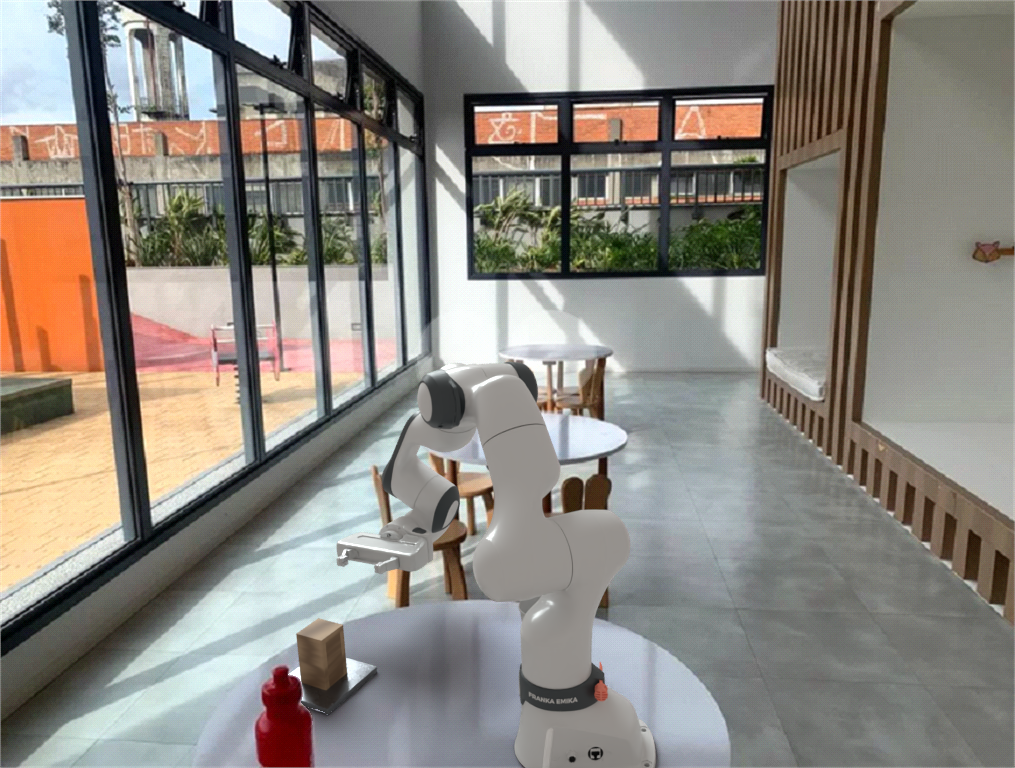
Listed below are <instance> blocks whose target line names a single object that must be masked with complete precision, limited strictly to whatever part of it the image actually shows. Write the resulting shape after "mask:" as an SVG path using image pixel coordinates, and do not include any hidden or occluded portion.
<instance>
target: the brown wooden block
mask: <svg viewBox="0 0 1015 768" xmlns="http://www.w3.org/2000/svg"><path fill="white" fill-rule="evenodd" d="M295 636H296V645H297V656H298V665H299V666H300V676H301V683H304V684H307V685H311V686H314V687H317V688H320V689H323V690H327V689H328V688H330V687H331V686H332V685H333V684H334V683H336V682H337V681H338V680H339V679H340V678H342V677H343V676H344V675H345V674H346V673H347V664H346V658H347V655H346V644H345V643H346V642H345V632H344V624H342V623H338V622H334V621H330V620H327V619H322V618H317V619H315V620H313V621H312V622H311V623H309V624H308V625H306V626H305V627H304V628H302V629H300V630H299V631H298V632H296V634H295ZM299 666H298V667H299Z"/></svg>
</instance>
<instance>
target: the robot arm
mask: <svg viewBox="0 0 1015 768" xmlns="http://www.w3.org/2000/svg"><path fill="white" fill-rule="evenodd" d="M416 397H417V398H416V399H417V407H418V410H416V411H415V412H413V413H412V415H410V416H409V418H408V419H407V421H406V422H405V424H404V426H403V427H402V429H401V432H400V434H399V436H398V438H397V439H398V440H397V441H396V444H395V447H394V450H393V453H392V454H391V457H390V459H389V460H388V462H387V463H386V465H385V467H384V468H383V471H382V473H381V482H382V483H381V484H382V488H383V490H384V492H386V493H388V494H389V495H391V496H392V497H394V498H395V499H398V500H399V501H400V502H401V503H404V504H405V505H406V506H407V507H409V508H410V509H411V510H409V511H408V512H406V513H405V514H404V515H402V516H399V517H398V518H395V519H393V520H392V521H391V522H388V523H386V524H385V525H384V526H382V527H381V529H379V532H378V534H377V533H371V532H366V531H359V532H356V533H352V534H350V535H348V536H346V537H343V538H340V539H339V540H337V542H336V555H337V558H336V566H338V567H343V568H344V567H346V566H348V565H349V561H352V562H357V563H362V564H368V565H373V566H374V567H373V569H374V573H375V574H378V575H383V574H384V573H386V572H390V571H391V572H392V571H395V570H401V571H405V572H416V571H419V570H421V569H422V568H423V567H425V566H426V565H427V564H429V563H431V562H432V561H433V560H434V542H437V540H438V539H440V537H442V536H443V535H444V534H445V532H447V530H448V529H449V528H450V525H451V524H452V522H453V521H454V520H455V518H456V516H457V515H458V512H459V509H460V505H461V497H460V491H459V488H458V486H457V485H455V484H454V483H452V482H451V481H450V480H449V479H447V478H446V477H445V476H443V475H441V474H439V473H438V472H437V471H435V470H434V469H432V468H431V467H429V466H428V465H427V464H426V463H424V462H423V461H422V460H421V459H420V458H419V457H418V455H417V454H418V452H419V450H420V447H425V448H426V449H430V450H433V451H435V452H441V453H450V452H454V451H459V450H461V449H462V448H464V447H465V446H467V445H468V444H469V443H470V442H471V441H472V439H473V438H474V436H475V433H476V431H477V434H478V439H479V442H480V445H481V448H482V450H483V455H484V457H485V461H486V465H487V468H488V473H489V476H490V479H491V483H492V490H493V495H494V503H493V512H492V518H491V520H490V523H489V525H488V528H487V530H486V531H485V533H484V535H482V538H481V539H480V540H479V541H478V543H477V545H476V547H475V549H474V553H473V556H472V557H473V558H472V571H473V576H474V579H475V581H476V584H477V585H478V587H479V589H480V591H481V592H482V593H483V594H484V595H485V596H486V597H488V598H489V599H490V600H492V601H494V602H495V603H508V602H509V603H510V602H511V603H512V602H520V601H525V600H529V599H532V598H536V597H539V596H541V597H540V599H539V600H538V601H537V602H536V603H535V604H534V605H533V606H532V607H531V608H530V609H529V610H528V612H527V613H526V614H525V616H524V618H523V621H522V620H521V626H520V657H521V658H520V659H521V663H520V665H519V671H518V696H519V699H520V700H519V701H520V704H521V710H520V719H519V723H518V730H517V734H516V737H515V740H514V753H515V756H516V758H517V760H518V761H519V763H520V764H521V765H522V766H523V767H524V768H656V763H657V756H656V755H657V754H656V753H657V751H656V745H655V740H654V737H653V733H652V731H651V729H650V728H649V726H648V725H647V724H646V722H644V721H643V720H642V719H640V718H639V716H638V714H637V711H636V708H635V706H634V705H633V703H632V702H631V700H630V699H628V698H627V697H625V696H624V695H622V694H620V692H617V691H616V690H614V689H613V688H611V687H610V686H608V685H606V677H605V672H604V671H603V668H604V667H603V664H602V662H601V661H599V663H598V664H599V665H598V666H599V667H598V666H597V665H595V664H594V663H593V662H592V647H593V646H592V643H593V641H592V640H593V626H594V622H595V618H596V614H597V611H598V607H599V606H600V604H601V600H602V598H603V596H604V594H605V592H606V590H607V588H608V586H609V585H610V583H611V581H612V580H613V579H614V578H615V576H616V575H617V574H618V573H619V572H620V571H621V570H622V569H623V568H624V566H625V565H626V564H627V562H628V560H629V557H630V552H631V538H630V534H629V531H628V528H627V527H626V524H625V523H624V522H623V520H622V519H621V518H620V516H618V515H617V514H616V513H614V512H613V511H611V510H610V509H609V510H608V509H579V510H575V511H571V512H566V513H563V514H558V515H553V516H550V517H546V516H545V514H544V509H543V499H544V498H545V497H546V496H547V495H548V494H549V493H550V492H551V491H552V490H553V489H554V488H555V486H556V485H557V483H558V482H559V479H560V475H561V464H560V461H559V459H558V455H557V452H556V449H555V447H554V444H553V441H552V439H551V436H550V434H549V431H548V428H547V424H546V422H545V419H544V417H543V415H542V412H541V410H540V407H539V406H538V404H537V402H538V398H539V387H538V381H537V378H536V376H535V374H534V372H533V371H532V370H531V369H530V367H529V366H528V365H527V364H525V363H523V362H518V361H504V362H503V363H501V362H500V363H499V362H498V363H497V362H495V363H494V362H493V363H492V362H490V363H479V364H477V363H470V364H465V363H462V362H453V363H447V364H446V365H445V364H444V365H443V366H442V367H440V368H438V369H437V370H432V371H430V372H428V373H426V374H424V375H423V376H422V378H421V380H420V381H419V383H418V386H417V396H416Z"/></svg>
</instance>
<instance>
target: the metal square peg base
mask: <svg viewBox="0 0 1015 768" xmlns="http://www.w3.org/2000/svg"><path fill="white" fill-rule="evenodd" d="M346 664H347V673H346V674H345V675H344V676H343V677H342V678H340V679H339V680H338V681H337V682H336V683H334V684H333V685H332V686H331V687H330V688H328V689H327V690H323V689H320V688H317V687H314V686H311V685H307V684H304V683H302V687H303V697H302V700H301V703H302V704H303V705H304V706H306V707H307V708H306V707H305V708H306V709H309V708H313V709H318V710H320V711H323V712H325V713H326V714H329V713H330V714H331V713H332V712H334V711H335V710H336V709H337V708H338V707H339V706H341V705H342V704H343V703H344V702H345V701H346V700H347V699H348V698H350V697H351V696H353V694H354V693H355V692H357V690H359V689H360V688H361V687H362V686H364V684H366V683H367V682H368V681H369V680H371V678H372V677H374V676H375V675H376V674H377V673H378V667H377V666H375V665H372V664H368V663H365V662H362V661H360V660H355V659H352V658H347V657H346ZM289 674H290V675H293V676H296V677H298V678H299V679H300V681H301V676H300V666H297V668H295V669H293V671H291V672H290V673H289ZM337 706H338V707H337ZM308 707H309V708H308ZM336 707H337V708H336ZM335 708H336V709H335ZM334 709H335V710H334ZM333 710H334V711H333ZM331 711H332V712H331ZM326 714H325V715H326ZM330 714H329V715H330Z"/></svg>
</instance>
